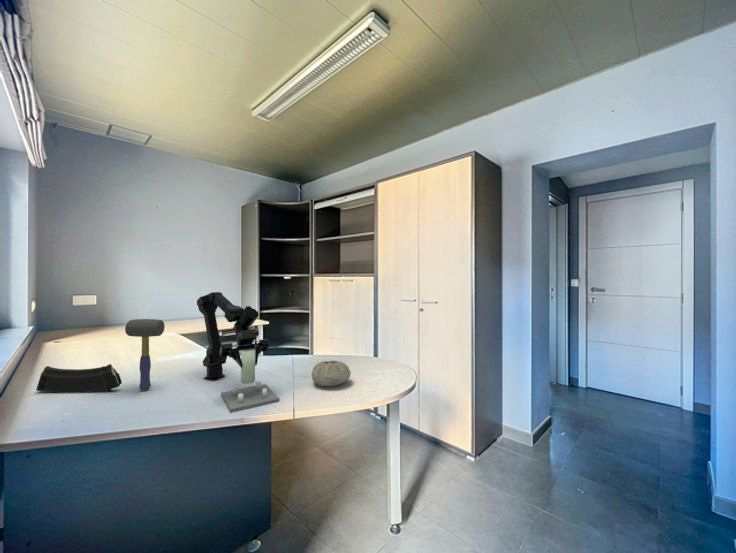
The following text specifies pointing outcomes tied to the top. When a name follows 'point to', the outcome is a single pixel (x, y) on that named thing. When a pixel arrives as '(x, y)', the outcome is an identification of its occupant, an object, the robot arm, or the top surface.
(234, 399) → the peg board
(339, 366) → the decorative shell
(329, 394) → the top surface
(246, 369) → the post
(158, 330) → the rubber mallet
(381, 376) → the top surface
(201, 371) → the top surface
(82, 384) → the magazine
